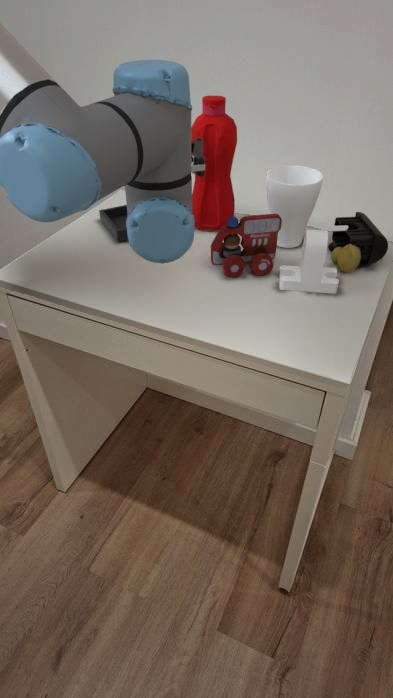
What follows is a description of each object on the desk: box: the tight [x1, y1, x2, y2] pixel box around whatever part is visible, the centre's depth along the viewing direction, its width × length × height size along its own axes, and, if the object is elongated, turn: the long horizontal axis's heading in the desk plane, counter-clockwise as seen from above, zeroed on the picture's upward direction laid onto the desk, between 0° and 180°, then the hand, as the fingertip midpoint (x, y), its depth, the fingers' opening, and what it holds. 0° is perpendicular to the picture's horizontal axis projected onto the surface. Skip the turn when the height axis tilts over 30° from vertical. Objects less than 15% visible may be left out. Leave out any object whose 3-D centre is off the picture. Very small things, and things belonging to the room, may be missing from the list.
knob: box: [330, 244, 361, 273], centre depth 88 cm, size 5×5×5 cm
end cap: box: [330, 211, 389, 268], centre depth 91 cm, size 10×7×7 cm
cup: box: [265, 164, 325, 249], centre depth 93 cm, size 10×10×14 cm
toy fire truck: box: [210, 213, 282, 278], centre depth 86 cm, size 7×12×10 cm, turn 96°
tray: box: [98, 204, 129, 243], centre depth 103 cm, size 11×11×2 cm
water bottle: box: [191, 94, 238, 232], centre depth 97 cm, size 9×11×25 cm
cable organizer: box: [278, 229, 340, 295], centre depth 82 cm, size 5×10×10 cm, turn 82°
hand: (156, 133), depth 81 cm, fingers closed on soda can, 7 cm apart
